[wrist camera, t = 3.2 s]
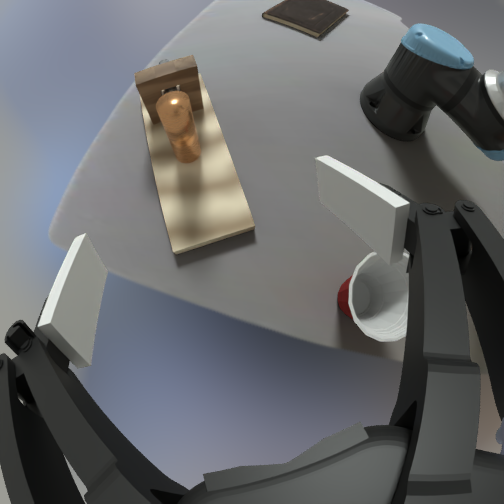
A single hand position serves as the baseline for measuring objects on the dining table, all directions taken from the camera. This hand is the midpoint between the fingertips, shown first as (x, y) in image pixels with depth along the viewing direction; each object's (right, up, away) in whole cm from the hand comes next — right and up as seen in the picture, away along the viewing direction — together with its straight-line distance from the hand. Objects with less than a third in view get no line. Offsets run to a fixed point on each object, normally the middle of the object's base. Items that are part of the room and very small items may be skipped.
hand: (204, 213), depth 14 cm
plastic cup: (+18, -9, +26) cm, 32 cm away
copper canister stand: (-8, +14, +28) cm, 33 cm away
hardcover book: (+18, +63, +39) cm, 76 cm away
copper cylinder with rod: (-10, +20, +26) cm, 34 cm away
